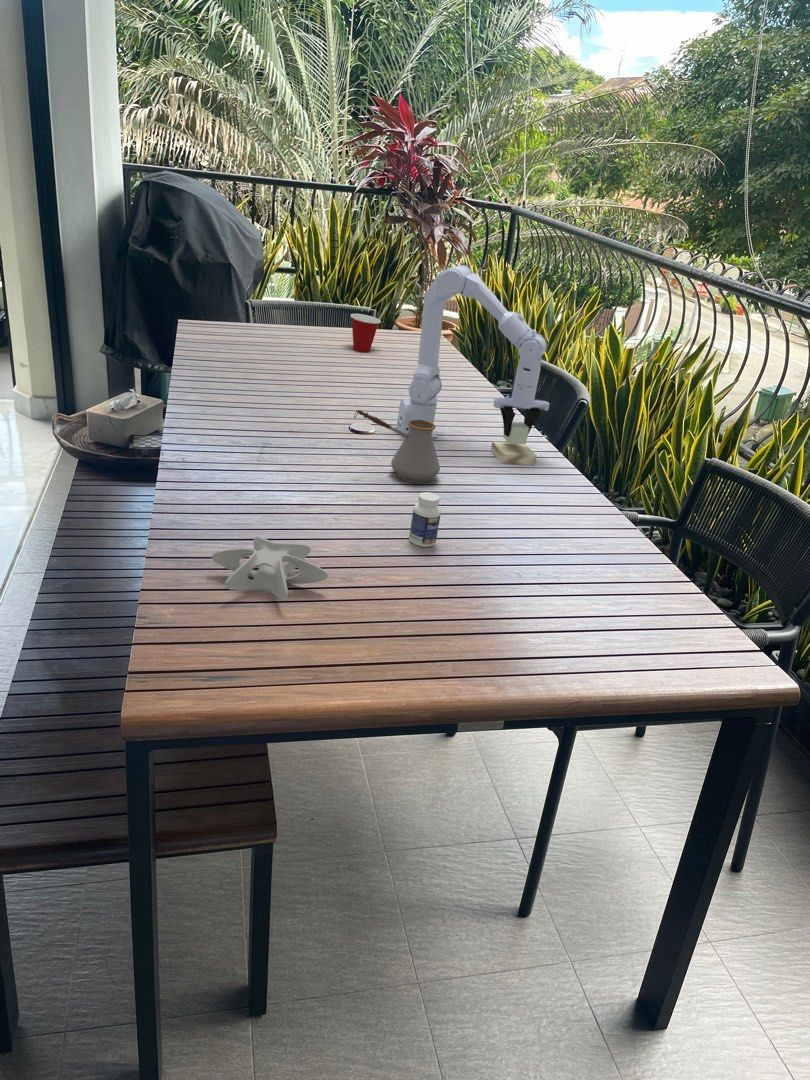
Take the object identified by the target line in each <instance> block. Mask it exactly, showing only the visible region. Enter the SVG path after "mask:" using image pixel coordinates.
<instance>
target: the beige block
mask: <svg viewBox="0 0 810 1080" xmlns="http://www.w3.org/2000/svg"><path fill="white" fill-rule="evenodd" d="M490 452H491V453H492V454H493V455H494V457H496V459H497V460H498V461H499V462H500V463H501V464H503V465H521V466H522V465H524V466H525V465H526V466H529V465H530V466H535V465H536V461H537V454H536V453H535V452H534V451H533V450H532V449H531V448H530V447H529V446H528V445H527V443H526V444H509V443H508V442H507V441H491V446H490Z"/></svg>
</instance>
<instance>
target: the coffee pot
mask: <svg viewBox="0 0 810 1080" xmlns="http://www.w3.org/2000/svg"><path fill="white" fill-rule="evenodd" d="M358 415H360V416H363V418H364V419H368V420H369V421H372V422H373V424H375V425H378V426H381V427H384V428H385V429H388V430H390V431H392V432H395V433H396V434H398V435H399V436H402V437H404V440H403V441H402V442H401V444H400V445H399V447H398V449H397V451H396V453H395V454H394V455H393V458H392V459H391V464H390V465H391V467H392V470H393V471H394V472H395V473H396V475H397V476H398V477H399V478H400V479H402V480H404V481H406V482H410V483H416V484H417V483H418V484H422V483H428V482H429V481H430V480H432V479H434V478H436V477H437V475H438V474H439V473H440V470H441V466H440V463H439V458H438V454H437V451H436V450H437V449H436V447H435V443H434V438H432V435H431V434H432V432H434V430H435V429H436V424H435V423H434V424H433V423H431V422H428V421H424V420H410V421H409V422H408V426H409V429H410V431H409V433H408V434H407V433H404V432H402V431H400V430H398V429H397V428H396V427H393V426H392V425H390V424H388V423H387V422H385V421H384V420H381V419H380V418H378V417H377V416H374V415H370V414H369V413H368V412H363V410H360V409H357V410H356V411H355V412H354V415H353V418H354V419H356V418H357V416H358Z"/></svg>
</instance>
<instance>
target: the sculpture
mask: <svg viewBox="0 0 810 1080" xmlns="http://www.w3.org/2000/svg"><path fill="white" fill-rule="evenodd" d="M311 551H312V549H311V547H310V546H308V545H307V544H303V543H295V542H276V541H271V540H268V539H267V538H264V537H262V536H255V537H254V538H253V548H231V549H223V550H219V551H217V552H214V553H212V554H211V559H212V560H213V561H214V562H215V563H216V564H218V565H219V566H222V567H223V568H225V569H227V570H230V571H232V573H231V574H230V575H229V576H228V577H227V578H226V580H225V582H224V588H227V589H228V590H230V591H243V592H244V591H247V592H249V591H266V592H268V593H270V594H272V595H274V596H276V597H277V598H279V599H281V600H282V599H283V600H284V599H288V597H289V590H288V585H287V584H293V585H294V584H295V585H298V584H300V585H301V584H314V583H319V582H322V581H325V580H327V579H328V578H329V574H328V572H327V571H326V570H324V569H323V568H322V567H319V566H318V565H316V564H314V563H311V562H310V561H307V560H306V558H307V557H308V556H309V554H310V553H311ZM249 556H250V557H249ZM247 557H248V558H247ZM244 558H247V559H246V561H244V562H243V563H241V561H240V560H242V559H244ZM284 562H286V563H285V564H284V565H283V563H284ZM256 567H257V568H258V570H253V569H255V568H256ZM296 568H297V569H298V570H299V571H300V572H299V573H297V574H295V575H291V576H289V575H290V574H291V573H293V571H295V570H296ZM249 577H250V578H253V579H250V578H249Z"/></svg>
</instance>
